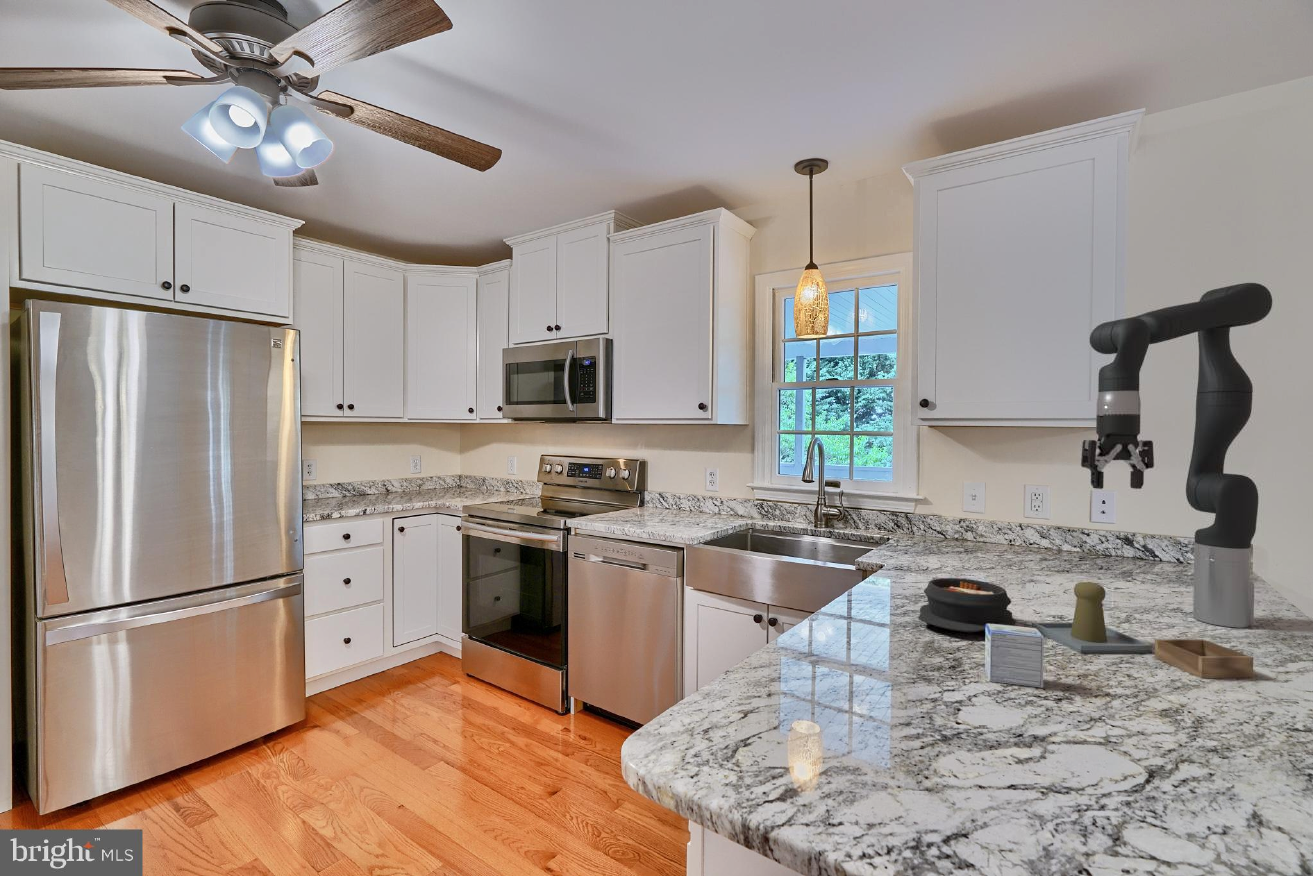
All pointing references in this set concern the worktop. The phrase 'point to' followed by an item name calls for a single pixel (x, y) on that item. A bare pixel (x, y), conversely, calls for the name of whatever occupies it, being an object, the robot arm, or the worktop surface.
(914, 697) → the worktop surface
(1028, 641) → the medicine box
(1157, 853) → the worktop surface
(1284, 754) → the worktop surface
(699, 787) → the worktop surface
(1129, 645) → the tray
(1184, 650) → the holder
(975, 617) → the casserole
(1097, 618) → the cork
